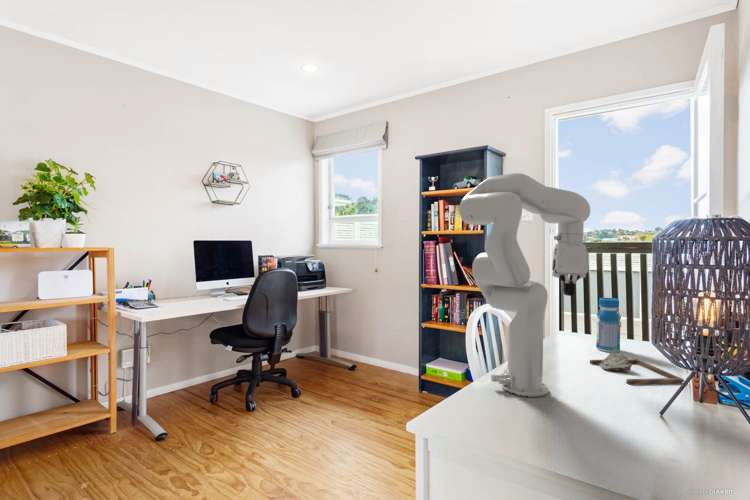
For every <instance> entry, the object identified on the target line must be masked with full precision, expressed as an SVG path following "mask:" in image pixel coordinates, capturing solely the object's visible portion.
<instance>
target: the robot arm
mask: <svg viewBox="0 0 750 500" xmlns="http://www.w3.org/2000/svg"><path fill="white" fill-rule="evenodd" d="M458 209H459V210H458V211H459V216H460V218H461V220H462V221H463V222H464V223H465V224H467V225H471V226H490V225H491V226H492V227H491V230H490V232H489V234H488V236H487V237H486V239H485V242H484V252H481V253H479V254H478V255H477V256H475V258H474V259H473V261H472V267H471V273H472V277H473V280H474V282H475V284H476V286H477V287H478V289H479V291H480V292H481V294H482V296H483V297H484V299H485V301H486V302H487V304H488V305H489V306H490V307H492V308H493V309H496V310H499V311H501V310H502V311H505V312H507V311H508V312H513V313H515V316H513V318H512V320H511V321H510V322H509V324H508V327H507V370H504V371H503V373H501V374H491V375H490V380H491V382H492V383H495V382H498V384H499V385H501V387H502V386H503V387H502V389H503V388H505V389H506V390H507V391H509V392H508V393H510V392H511V393H510V394H512V393H515V394H517V395H516V396H520V395H522V396H521V397H526V396H528V398H535V397H537V398H538V397H539V398H540V397H543V396H546V395H547V394H548V393H549V387H548V386H547V384H545V383H543V374H544V373H543V370H544V369H543V367H544V366H543V362H544V361H543V360H544V321H545V314H546V309H547V304H548V298H549V297H548V295H549V294H548V291H547V288H546V287H545V286H544V285H543V284H541V283H540V282H538V281H533V280H530V277H531V271H530V267H529V264H528V262H527V260H526V258H525V256H524V253H523V252H522V249H521V248H520V244H519V243H518V238H517V235H518V231H519V225H520V222H521V217H522V213H523V210H525V211H527V212H530V213H532V214H536V215H540V218H541V220H543V221H544V222H545V223H548V224H558V225H557V235H554V236H553V240H554V241H556V242H557V243H555V245H554V250H553V255H552V266H551V270H552V274H551V275H552V277H555V278H557V279H559V280H560V281H561V283H562V292H563V295H565V296H568V297H569V296H574V293H575V284H577V281H579V279H580V280H581V279H583V278H584V279H585V278H586V277H587V273H588V272H589V261H588V260H589V259H588V249H587V245H586V244H585V243H584V222H586V221H587V220H588V219H589V218H590V214H591V206H590V203H589V202H588V199H586V198H585V197H584V196H583V195H581V194H580V193H577V192H574V191H570V190H566V189H561V188H556V187H552V186H551V187H550V186H546V185H544V184H543V183H541V182H539V181H537V180H536V179H534V178H532V177H530V175H529V176H528V175H527V174H524V173H521V172H520V173H517V172H516V173H506V174H501V175H500V174H499V175H493V176H490V177H488V178H486V179H485V180H483V181H482V182H480V183H479V184H478V185H476V186H475V187H474V188H473V189H472V190H470V191H469V192H467V194H466V195H465V196H464V197H462V199H461V201H460V204H459V208H458ZM506 390H505V391H506ZM507 391H506V392H507ZM515 394H514V395H515Z"/></svg>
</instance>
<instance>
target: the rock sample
mask: <svg viewBox="0 0 750 500" xmlns="http://www.w3.org/2000/svg"><path fill="white" fill-rule="evenodd" d="M629 359H630V358H628V357H627V356H626V355H625V354H624V353H622V352H621V351H618V350H617V349H613V350H612V351H611V352H609V354H608V355H607V356H606V357H605V358H604V359H602V360H603V361H602V362H601V363H600V364H599V366H600V367H601V368H602V370H607V371H620V372H628V371H631V370H632V369H631V368H632V366H633V365H632V364H631V363H630V360H629Z"/></svg>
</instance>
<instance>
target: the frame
mask: <svg viewBox="0 0 750 500" xmlns="http://www.w3.org/2000/svg"><path fill="white" fill-rule="evenodd" d="M628 359H629V360H630V363H631V364H633V365H634V364H636V365H638V366H640V367H643V368H646V369H647V370H649V371H652V372H654V373H657V374H658V375H661V376H663V377H664V378H659V377H658V378H656V377H655V378H626V382H625V383H626V384H627V385H663V384H664V385H665V384H669V385H671V384H683V383H682V382H684V383H685V380H684V378H681V377H679V376H677V375H675V374H672V373H670V372H669V371H665V370H663V369H661V368H659V367H656V366H654V365H652V364H649V363H647V362H644V361H643V360H640V359H638V358H628ZM603 360H604V359H589V364H590V365H600V363H601V362H602V361H603Z"/></svg>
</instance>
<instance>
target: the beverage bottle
mask: <svg viewBox="0 0 750 500" xmlns="http://www.w3.org/2000/svg"><path fill="white" fill-rule="evenodd" d="M598 307H600V308H599V310H598V311H597V313H596V317H597V318H596V321H595V324H596V343H595V346H596V349H597V350H598V351H600V352H601V351H602V352H606V353H611V351H612V350H613V349H617V350H618V351H619V352H621V328H622V322H621V320H622V319H621V318H622V315H621V314H620V313H621V312H620V311H619V310H618V309H619V308H620V300H619V299H618V298H614V297H599V299H598Z"/></svg>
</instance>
